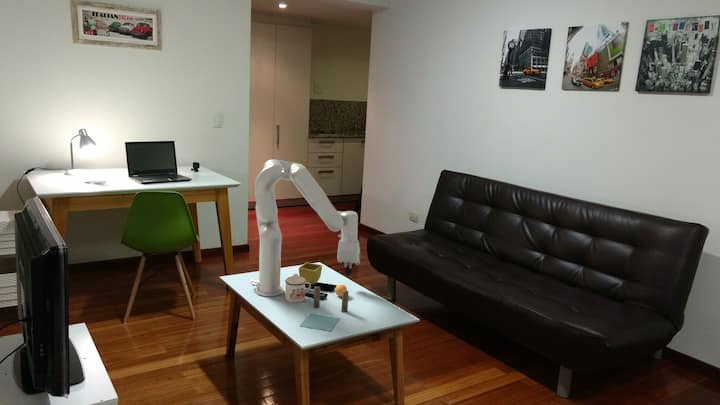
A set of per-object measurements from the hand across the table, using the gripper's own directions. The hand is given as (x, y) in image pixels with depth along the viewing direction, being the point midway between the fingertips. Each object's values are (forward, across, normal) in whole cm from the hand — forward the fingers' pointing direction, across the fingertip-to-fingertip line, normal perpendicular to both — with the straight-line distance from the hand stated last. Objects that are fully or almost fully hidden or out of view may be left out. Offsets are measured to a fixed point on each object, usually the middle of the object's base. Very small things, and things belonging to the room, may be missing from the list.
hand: (348, 275), depth 263 cm
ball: (+4, -1, -10) cm, 11 cm away
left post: (+6, -7, -26) cm, 28 cm away
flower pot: (+7, -19, -1) cm, 20 cm away
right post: (+7, +6, -26) cm, 27 cm away
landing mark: (+6, -1, -40) cm, 40 cm away
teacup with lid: (+6, -18, -20) cm, 27 cm away
